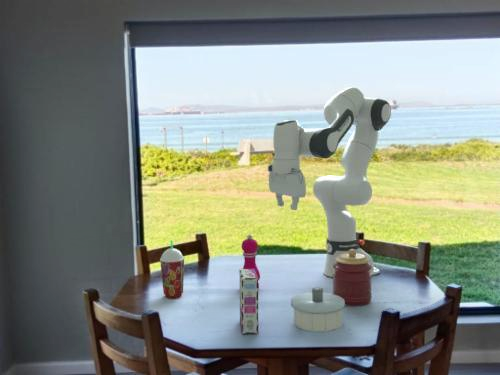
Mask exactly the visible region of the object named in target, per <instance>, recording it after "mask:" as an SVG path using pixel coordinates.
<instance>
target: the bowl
mask: <svg viewBox="0 0 500 375" xmlns="http://www.w3.org/2000/svg"><path fill="white" fill-rule="evenodd" d="M293 321H294V322H293V324H294V326H295V327H298V328H299V329H302V330H306V331H309V332H329V330H330V331H334V330H333V329H335V330H338V329H339V328H340V327H341V325H342V326H343V309H342V310H340V311H338V312H334V313H328V314H311V313H305V312H301V311H298V310H296V309H294V308H293ZM338 327H339V328H338Z"/></svg>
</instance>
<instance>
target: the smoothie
mask: <svg viewBox="0 0 500 375" xmlns="http://www.w3.org/2000/svg"><path fill="white" fill-rule="evenodd" d="M173 243H174V242H173V240H170V248H167V249H165V251H164V252H163V253H162V254H161V256H160V258H159V260H160V261H159V262H160V269H161V270H160V272H161V280H162V291H163V295H164V297H165V298H166V299H170V300H171V299H172V300H174V299H179V298H181V297H182V295H183V293H184V279H185V278H184V276H185V273H184V272H185V270H184V269H185V257H184V256H183V254H182V252H181V250H179V249H177V248H174V246H173Z"/></svg>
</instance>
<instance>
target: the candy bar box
mask: <svg viewBox="0 0 500 375" xmlns="http://www.w3.org/2000/svg"><path fill="white" fill-rule="evenodd" d="M238 272H239V323H240V329H241V334H242V335H256V334H257V335H259V288H258V283H259V281H258V277H257V274H256V272H255V269H243V268H240V269H239V271H238Z"/></svg>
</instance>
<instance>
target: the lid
mask: <svg viewBox="0 0 500 375" xmlns="http://www.w3.org/2000/svg"><path fill="white" fill-rule="evenodd" d="M290 306H291V307H292V309H293V310H294V309H296V310H298V311H301V312H305V313H311V314H328V313H334V312H338V311H340V310H342V311H343V309H345V306H346V305H345V301H344V299H343V298H341V297H340V296H337V295H334V294H333V293H329V292H324V288H322V287H318V286H317V287H316V286H315V287H312V288H311V292H304V293H299V294H296V295H293V297H291V298H290Z"/></svg>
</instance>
